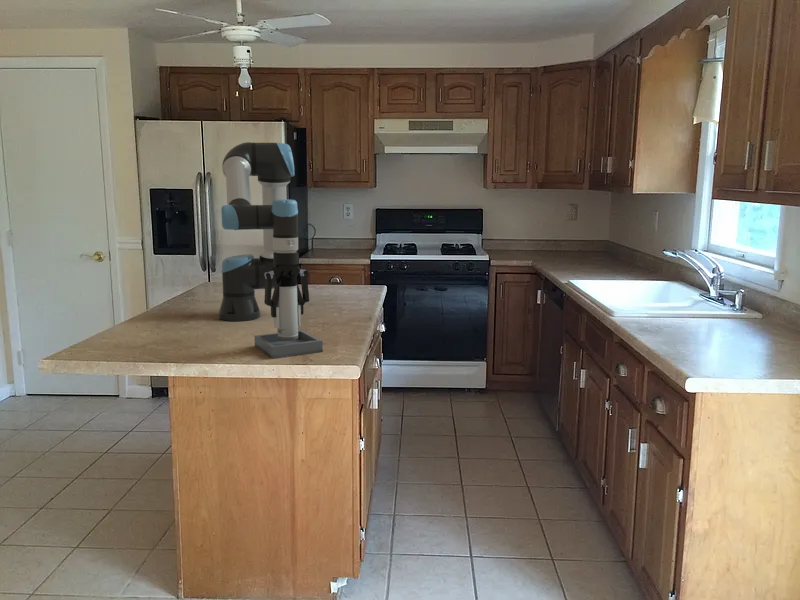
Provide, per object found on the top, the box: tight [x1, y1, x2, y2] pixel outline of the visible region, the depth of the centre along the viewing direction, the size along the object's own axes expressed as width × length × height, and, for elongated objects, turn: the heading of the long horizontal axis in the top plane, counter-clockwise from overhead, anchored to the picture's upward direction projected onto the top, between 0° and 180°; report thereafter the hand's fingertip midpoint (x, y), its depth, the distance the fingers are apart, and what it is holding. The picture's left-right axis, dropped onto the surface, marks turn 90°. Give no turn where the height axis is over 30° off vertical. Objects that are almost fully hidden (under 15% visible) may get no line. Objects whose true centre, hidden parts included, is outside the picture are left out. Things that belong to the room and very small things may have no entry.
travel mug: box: [276, 276, 299, 341], centre depth 200 cm, size 6×7×20 cm
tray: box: [254, 329, 324, 360], centre depth 202 cm, size 16×16×4 cm
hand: (287, 326), depth 201 cm, fingers closed on travel mug, 6 cm apart
